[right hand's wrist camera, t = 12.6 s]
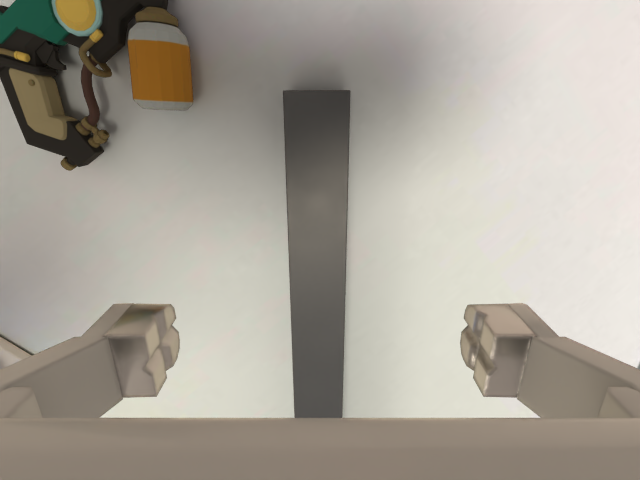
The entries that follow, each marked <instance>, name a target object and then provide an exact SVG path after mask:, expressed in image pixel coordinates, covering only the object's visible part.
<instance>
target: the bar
mask: <svg viewBox="0 0 640 480" xmlns="http://www.w3.org/2000/svg"><path fill="white" fill-rule="evenodd" d="M283 104H284V132H285V160H286V188H287V216H288V244H289V272H290V300H291V328H292V356H293V384H294V412H295V418H342V403H343V363H344V323H345V283H346V243H347V203H348V163H349V123H350V90H304V91H283Z"/></svg>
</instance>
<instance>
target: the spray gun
mask: <svg viewBox="0 0 640 480" xmlns="http://www.w3.org/2000/svg"><path fill="white" fill-rule="evenodd" d="M167 5H168V0H16V1H15V2H14V3H13V4H12V5H11V6H10V7H5V6H1V5H0V78H1V81H2V83H3V86H4V89H5V91H6V94H7V96H8V99H9V101H10V104H11V106H12V109H13V111H14V114H15V116H16V118H17V121H18V123H19V126H20V128H21V130H22V133H23V135H24V138H25V140H26V142H27V144H29V145H32V146H35V147H38V148H41V149H44V150H47V151H50V152H53V153H56V154H59V155H62V156H65V158H64V159H63V160H62V161H61V165H62V167H63V168H65V169H66V170H69V171H70V170H72V169H74V168H76V167H77V166H78V167H81V166H85V165H88V164H90V163H91V162H92V161H93V160H94V159H96V158H97V157H98V156H99V155H101V154H102V153H103V152H104V150H103V149H102V147H101V146H100V144H103V143H105V142H106V141H107V140H108V137H109V133H108V132H107V131H106V130H100V131H99V130H98V129H97V122H98V120H99V116H100V113H99V107H98V105H97V102H96V99H95V96H94V92H93V87H92V73H93V74H94V75H97V76H101V77H111V76H112V72H111V69H110V68H109V67H108V65H107V64H106V62H107V61H108V60H109V59H110V58H111V57H112V56H113V55H114V54H115V53H117V52H118V51H119V50H120V49H121V48H122V47H123V46H124V45H125V40H126V33H127V25H128V22H129V21H130V20H131V19H132V18H133V17H134V16H135V18H136V22H137V23H136V24H135V25H134V26H133V27H132V28H131V29H130V30H129V35H128V51H129V61H130V72H131V82H132V92H133V99H134V101H135V102H136V103H137V104H139V105H140V106H141V107H142V108H145V109H158V110H188V108H189V107H190V106H191V105H192V104H193V91H192V77H191V63H190V49H189V44H188V41H187V38H186V36H185V35H184V34H183V33H182V32H181V31H180V30H179V29H178V28H177V27H178V19H177V18H176V17H174V16H173V15H171V14H169V13H168V12H167V11H166V10H167ZM143 7H145V9H144V10H142V11H140V10H141V9H142V8H143ZM52 43H55V44H58V45H63V46H65V45H66V44H67V43H70V44H72V45H74V46H77V47H79V48H80V49H79V55H80V58H81V60H82V62H83V63H84V64H83V67H82V71H81V83H82V88H83V93H84V97H85V99H86V102H87V105H88V108H89V116H86V117H84V118H83V119H82V120H81V122H80V121H79V120H77V119H75V118H73V117H69V116H65V113H64V110H63V106H62V102H61V99H60V95H59V91H58V88H57V84H56V82H55V80H54V79H53V78H52V77H51V76H56V75H57V74H58V73H57V71H56V70H67V69H66V65H64V64H62V63H61V62H60V61H59V58H58V48H59V47H58V46H57V45H53V44H52ZM87 51H89V52H90V53H89V55H90V56H89V57H88V56H87V54H86V53H87ZM44 64H47V65H48V66H50V67H51V68H49V67H46V66H44ZM97 64H99V65H100V66H101V68H102V69H103V70H104V71H103V70H99V69H97V68H96V67H95V66H96V65H97ZM52 68H53V69H52ZM55 69H56V70H55ZM90 130H91V132H92V133H93V134H94V135H93V136H92V135H91V134H90Z"/></svg>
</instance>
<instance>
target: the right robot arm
mask: <svg viewBox="0 0 640 480" xmlns="http://www.w3.org/2000/svg"><path fill="white" fill-rule="evenodd" d="M175 319H176V315H175V310H174V307H173V306H172V305H171V304H134V303H121V304H113V305H112V306H111V307H110V308H109V309H108V310H107V311H106V312H105V313H104V314H103V315H102V316H101V317H100V318H99V319H98V320H97V321H96V322H95V323H94V324H93V325H92V326H91V327H90V328H89V329H88V330H87V331H86V332H85V333H84V334H83V335H82V336H81V337H73V338H71V339H69V340H67V341H64V342H62V343H60V344H57V345H55V346H53V347H51V348H48V349H46V350H44V351H41V352H39V353H37V354H35V355H30V354H28V353H27V352H25V351H23V350H22V349H20V348H18V347H17V346H15V345H13V344H12V343H10V342H8V341H7V340H5V339H3V338H2V337H0V480H640V370H639V369H637V368H635V367H633V366H630V365H628V364H626V363H623V362H621V361H619V360H617V359H614V358H612V357H610V356H608V355H605V354H603V353H601V352H598V351H596V350H594V349H592V348H589V347H587V346H585V345H583V344H580V343H578V342H576V341H573V340H571V339H569V338H567V337H559V336H558V335H557V334H556V333H555V332H554V331H553V330H552V329H551V328H550V327H549V326H548V325H547V324H546V323H545V322H544V321H543V320H542V319H541V318H540V317H539V316H538V315H537V314H536V313H535V312H534V311H533V310H532V309H531V308H530V307H529V306H528V305H526V304H523V303H513V304H475V305H467V307H466V310H465V314H464V319H465V321H466V322H467V324H468V326H467V327H466V328H465V329H464V330H463V331H462V332H461V340H460V345H461V354H462V357H463V360H464V362H465V364H466V366H467V367H469V368H470V369H472V370H474V376H473V379H474V380H475V382H476V384H477V386H478V388H479V389H480V391H481V393H482V395H483V397H517V399H518V400H519V401H520V402H522V403H523V404H524V405H525V406H527V407H528V408H529V409H531V410H532V411H533V412H534V413H536V414H537V415H538V416H540V417H541V418H99V417H101V416H102V415H103V414H104V413H106V412H107V411H108V410H110V409H111V408H112V407H113V406H115V405H116V404H117V403H119V402H120V401H121V400H122V399H123V397H157V395H158V393H159V391H160V389H161V388H162V386H163V384H164V382H165V380H166V379H167V376H166V370H168V369H170V368H171V367H173V366H174V364H175V362H176V360H177V357H178V353H179V348H180V339H179V332H178V331H177V330H176V329H175V328H174V327H173V326H172V324H173V322H174V321H175Z"/></svg>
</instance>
